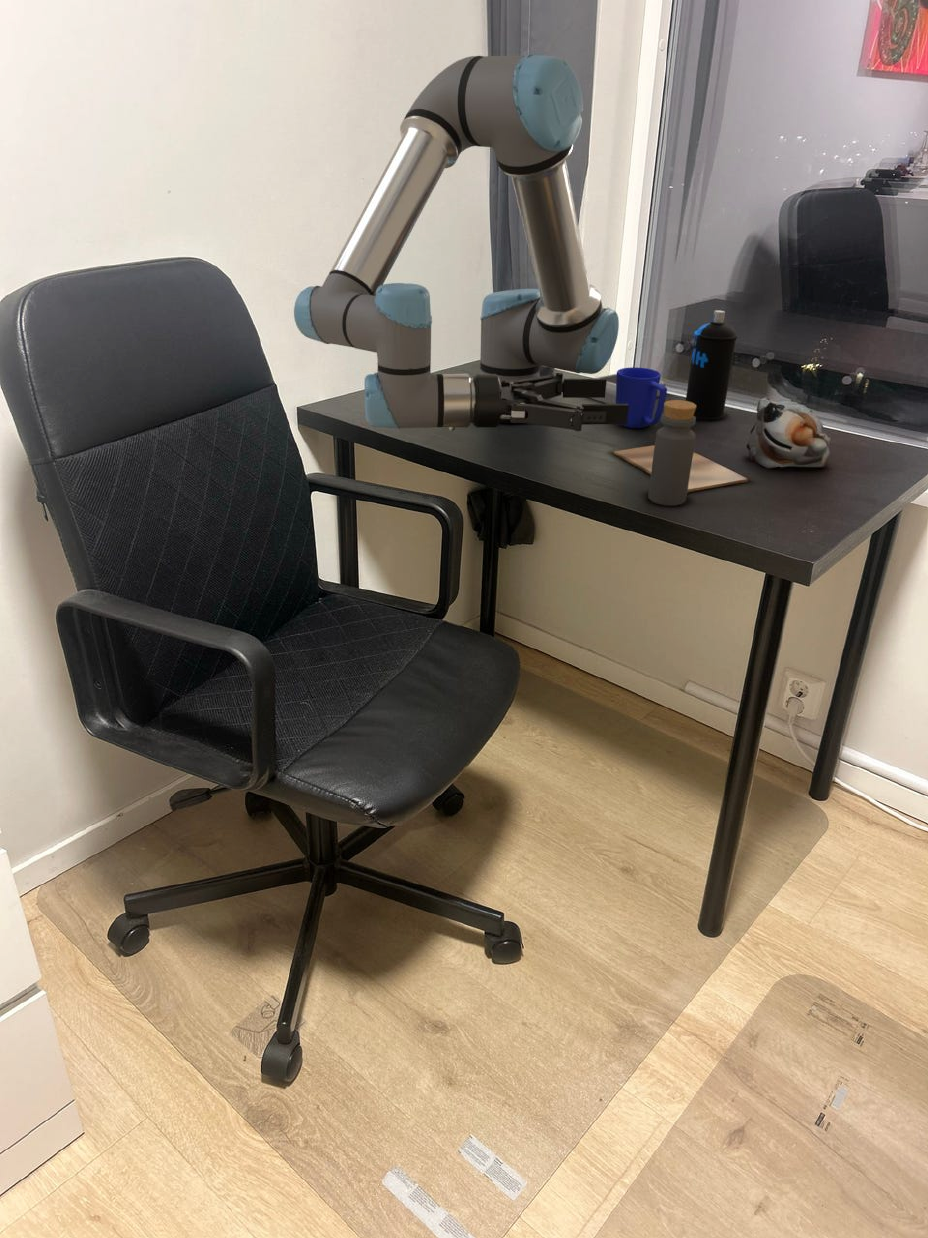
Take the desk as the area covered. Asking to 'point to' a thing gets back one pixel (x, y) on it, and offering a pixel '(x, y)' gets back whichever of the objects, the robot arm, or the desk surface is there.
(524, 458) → the desk surface
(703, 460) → the wooden board
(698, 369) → the aerosol can
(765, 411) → the lucky cat figurine
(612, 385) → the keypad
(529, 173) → the robot arm
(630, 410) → the mug
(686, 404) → the bottle
